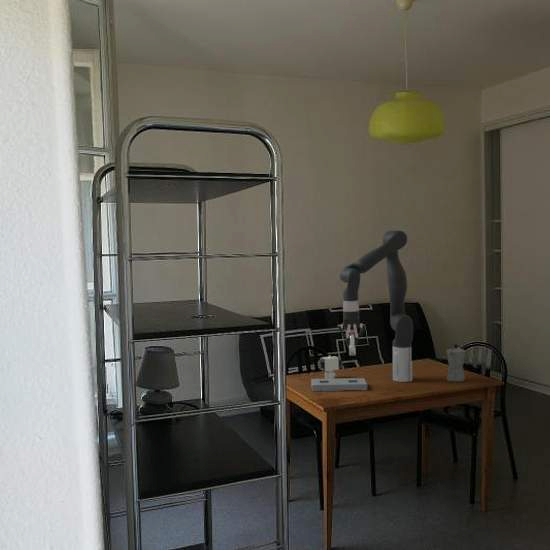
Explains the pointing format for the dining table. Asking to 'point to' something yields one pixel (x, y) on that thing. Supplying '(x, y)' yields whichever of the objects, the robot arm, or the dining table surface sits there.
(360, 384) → the mount board
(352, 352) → the lock pin
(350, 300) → the robot arm
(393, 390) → the dining table surface
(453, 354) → the coffeepot
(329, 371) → the pneumatic valve
